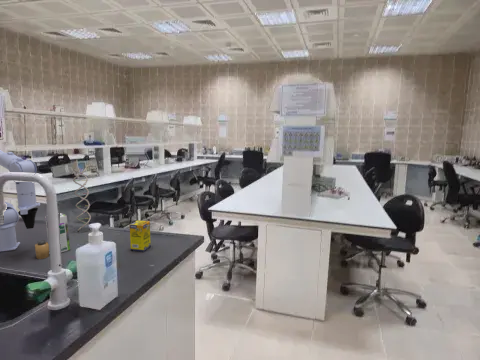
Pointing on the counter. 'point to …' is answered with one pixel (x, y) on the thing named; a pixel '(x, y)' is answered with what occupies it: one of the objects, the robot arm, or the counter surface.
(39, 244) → the amber bottle
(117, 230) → the counter surface
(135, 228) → the supplement box
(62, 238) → the syrup box
